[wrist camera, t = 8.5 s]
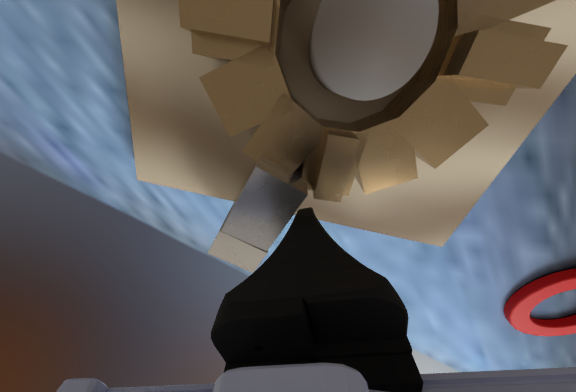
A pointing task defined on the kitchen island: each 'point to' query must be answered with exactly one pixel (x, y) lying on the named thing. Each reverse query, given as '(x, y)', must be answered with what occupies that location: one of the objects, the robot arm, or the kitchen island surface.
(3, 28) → the kitchen island surface
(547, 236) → the kitchen island surface
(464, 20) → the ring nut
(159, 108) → the spindle board
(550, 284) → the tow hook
